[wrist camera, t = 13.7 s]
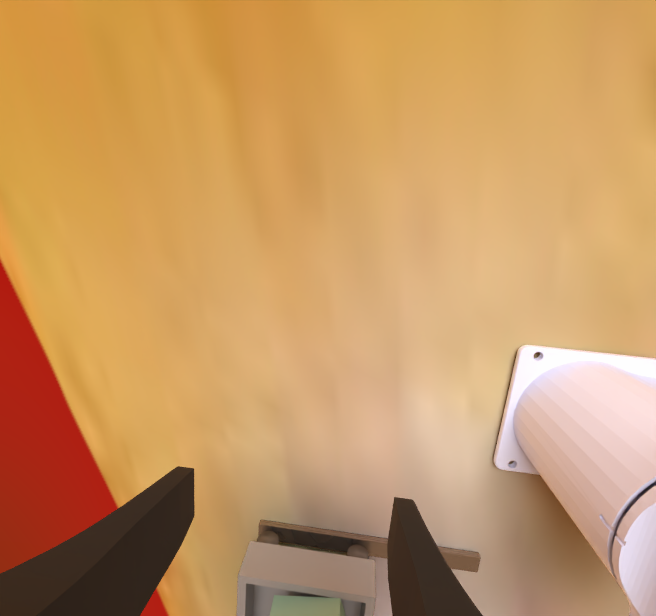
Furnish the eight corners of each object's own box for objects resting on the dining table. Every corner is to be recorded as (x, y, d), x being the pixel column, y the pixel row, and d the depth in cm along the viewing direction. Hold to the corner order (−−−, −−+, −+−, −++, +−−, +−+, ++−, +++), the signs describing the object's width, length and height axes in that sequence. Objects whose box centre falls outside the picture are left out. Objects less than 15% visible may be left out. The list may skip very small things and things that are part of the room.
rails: (478, 552, 24) (480, 557, 23) (453, 663, 26) (454, 670, 26) (260, 519, 25) (259, 524, 24) (255, 628, 27) (254, 634, 27)
